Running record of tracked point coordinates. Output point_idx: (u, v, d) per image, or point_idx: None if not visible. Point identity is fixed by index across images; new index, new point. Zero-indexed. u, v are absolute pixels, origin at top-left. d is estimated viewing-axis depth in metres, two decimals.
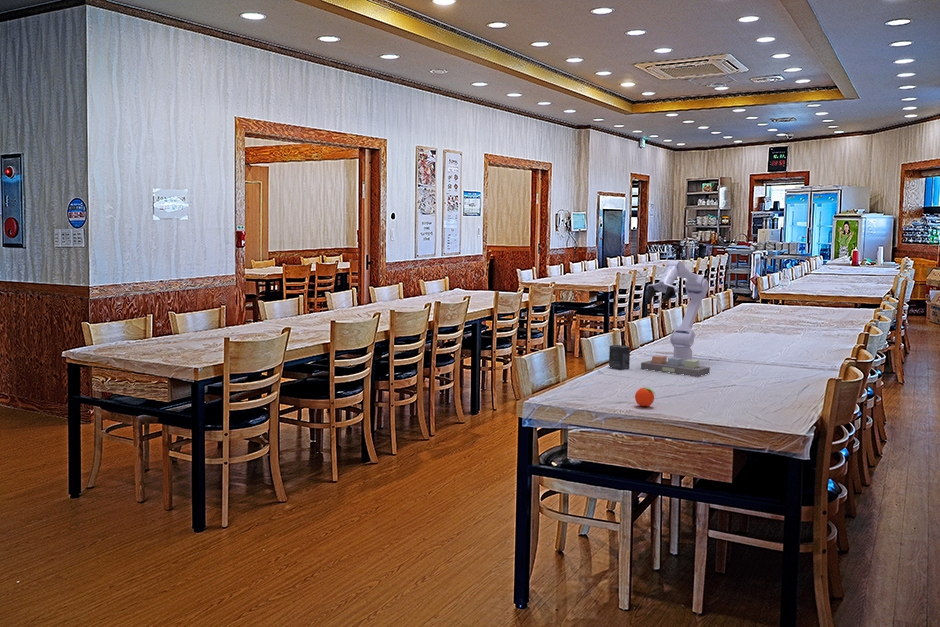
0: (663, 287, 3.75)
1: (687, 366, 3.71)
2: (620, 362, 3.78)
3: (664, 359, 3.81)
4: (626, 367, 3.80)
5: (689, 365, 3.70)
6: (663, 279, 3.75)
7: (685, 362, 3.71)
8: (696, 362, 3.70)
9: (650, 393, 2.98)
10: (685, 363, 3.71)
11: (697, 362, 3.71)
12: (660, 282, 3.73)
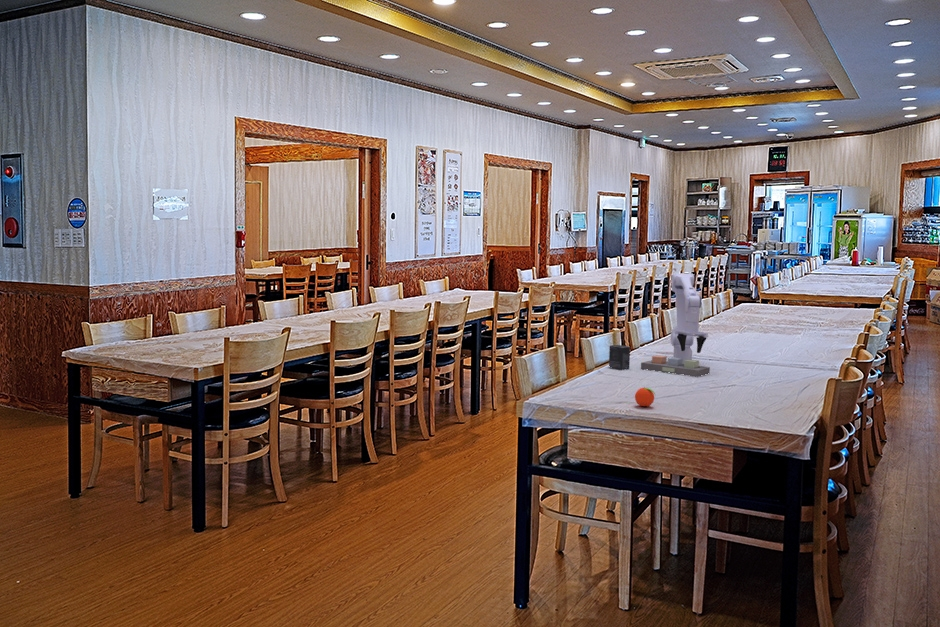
0: None
1: (687, 366, 3.71)
2: (620, 362, 3.78)
3: (664, 359, 3.81)
4: (626, 367, 3.80)
5: (689, 365, 3.70)
6: (689, 327, 3.72)
7: (685, 362, 3.71)
8: (696, 362, 3.70)
9: (650, 393, 2.98)
10: (685, 363, 3.71)
11: (697, 362, 3.71)
12: (687, 333, 3.72)
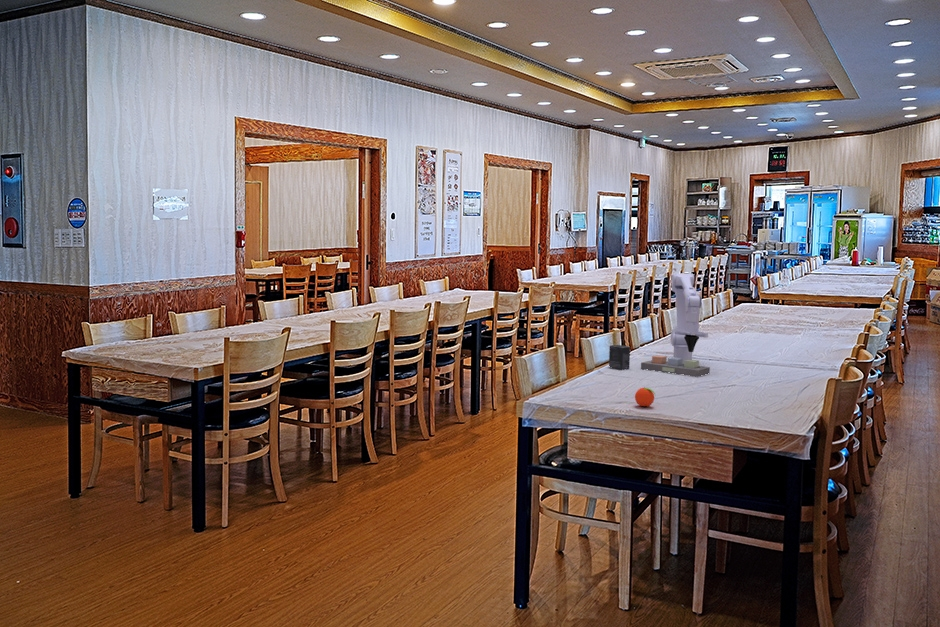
0: None
1: (687, 366, 3.71)
2: (620, 362, 3.78)
3: (664, 359, 3.81)
4: (626, 367, 3.80)
5: (689, 365, 3.70)
6: (689, 327, 3.72)
7: (685, 362, 3.71)
8: (696, 362, 3.70)
9: (650, 393, 2.98)
10: (685, 363, 3.71)
11: (697, 362, 3.71)
12: (687, 333, 3.72)
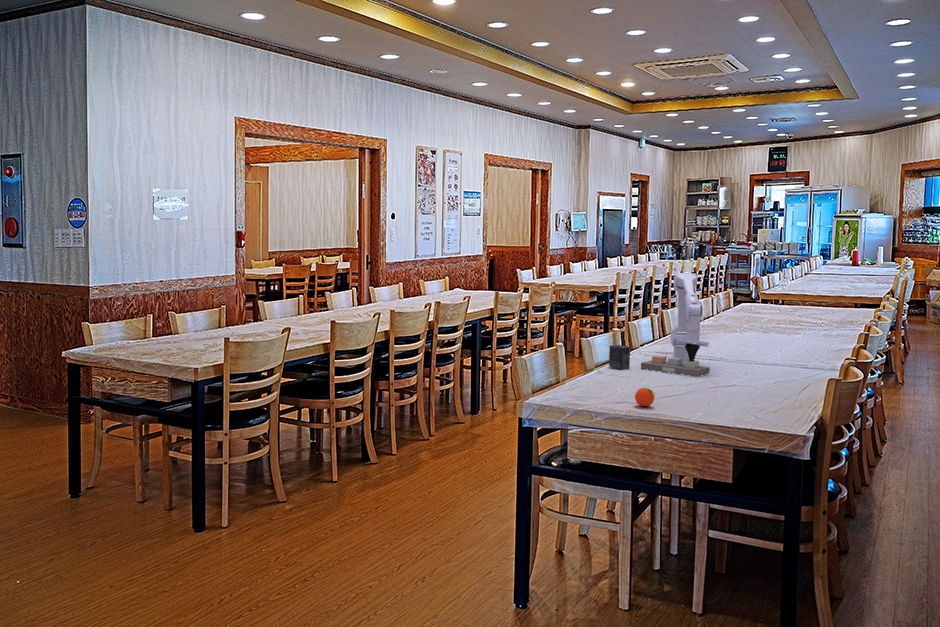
0: None
1: (687, 366, 3.71)
2: (620, 362, 3.78)
3: (664, 359, 3.81)
4: (626, 367, 3.80)
5: (689, 365, 3.70)
6: (689, 336, 3.69)
7: (685, 362, 3.71)
8: (696, 362, 3.70)
9: (650, 393, 2.98)
10: (685, 363, 3.71)
11: (697, 362, 3.71)
12: (688, 342, 3.68)
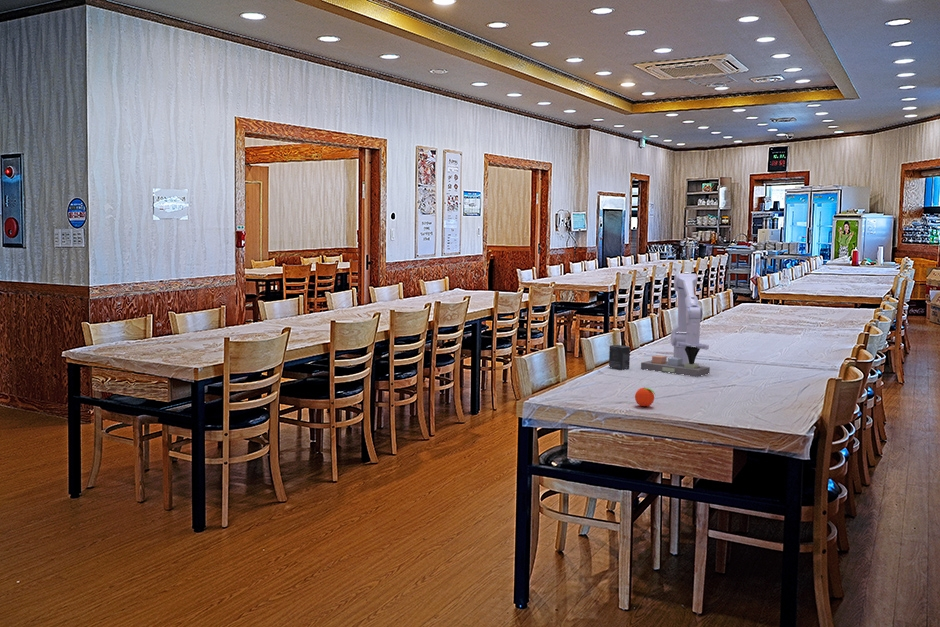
0: None
1: None
2: (620, 362, 3.78)
3: (664, 359, 3.81)
4: (626, 367, 3.80)
5: None
6: (689, 339, 3.69)
7: (685, 365, 3.71)
8: (696, 365, 3.70)
9: (650, 393, 2.98)
10: (685, 366, 3.71)
11: (697, 365, 3.71)
12: (688, 345, 3.69)
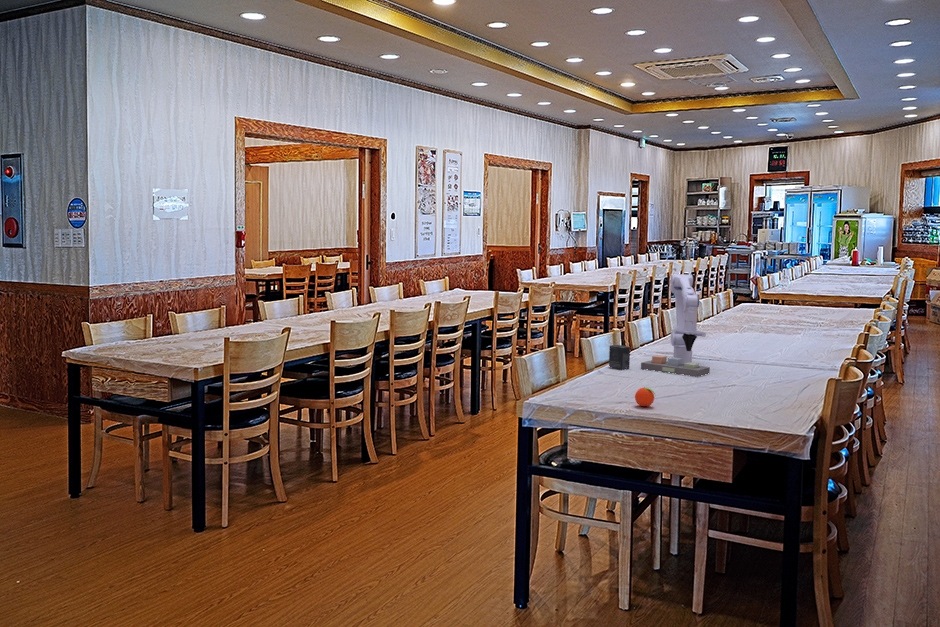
0: None
1: None
2: (620, 362, 3.78)
3: (664, 359, 3.81)
4: (626, 367, 3.80)
5: None
6: (686, 326, 3.75)
7: (685, 365, 3.71)
8: (696, 365, 3.70)
9: (650, 393, 2.98)
10: (685, 366, 3.71)
11: (697, 365, 3.71)
12: (685, 332, 3.74)
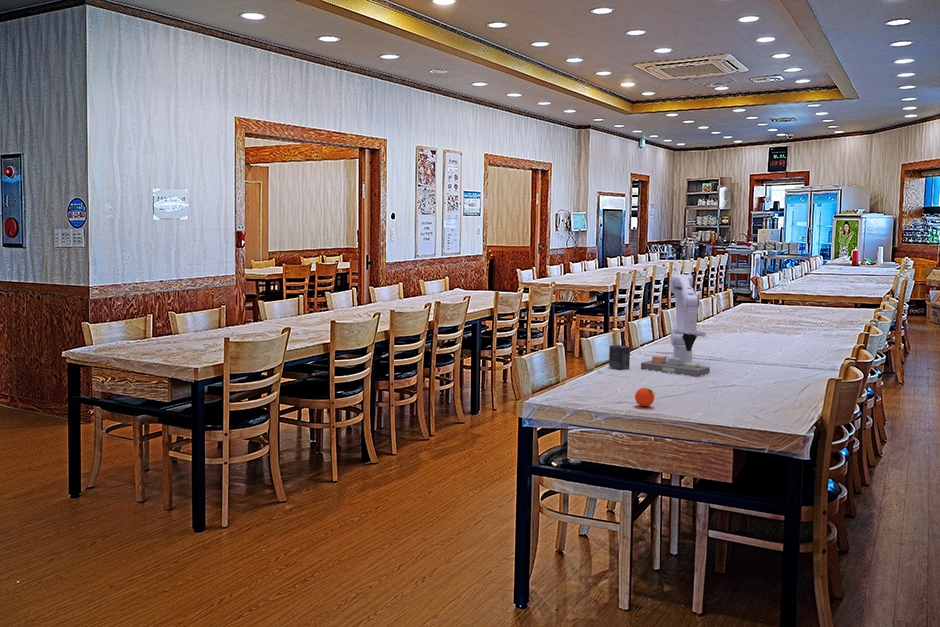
0: None
1: None
2: (620, 362, 3.78)
3: (664, 359, 3.81)
4: (626, 367, 3.80)
5: None
6: (686, 326, 3.75)
7: (685, 365, 3.71)
8: (696, 365, 3.70)
9: (650, 393, 2.98)
10: (685, 366, 3.71)
11: (697, 365, 3.71)
12: (685, 332, 3.74)
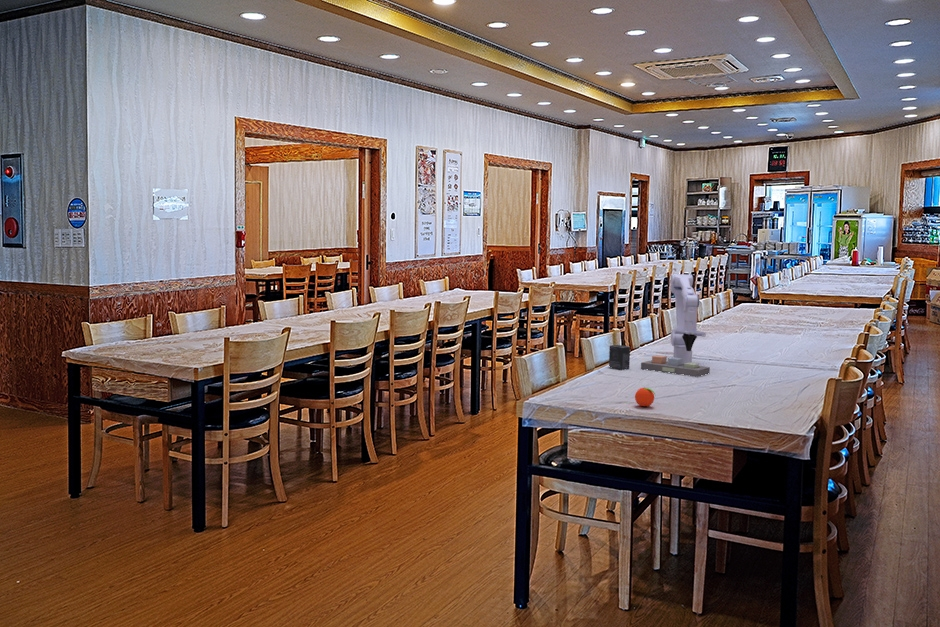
0: None
1: None
2: (620, 362, 3.78)
3: (664, 359, 3.81)
4: (626, 367, 3.80)
5: None
6: (686, 326, 3.75)
7: (685, 365, 3.71)
8: (696, 365, 3.70)
9: (650, 393, 2.98)
10: (685, 366, 3.71)
11: (697, 365, 3.71)
12: (685, 332, 3.74)
